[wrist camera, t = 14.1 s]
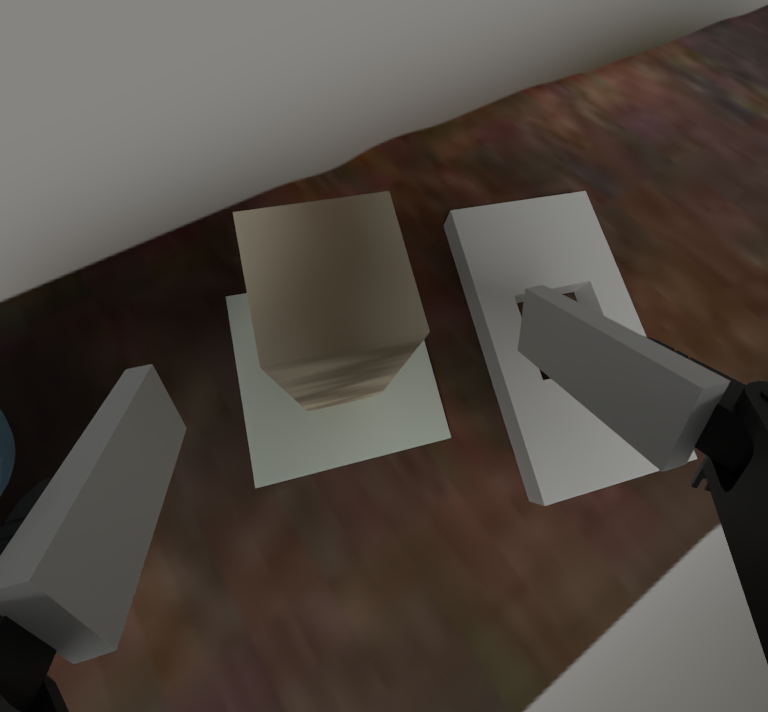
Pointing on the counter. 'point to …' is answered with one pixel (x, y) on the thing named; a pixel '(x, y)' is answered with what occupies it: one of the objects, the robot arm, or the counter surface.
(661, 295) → the counter surface
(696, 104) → the counter surface
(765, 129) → the counter surface
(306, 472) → the tile
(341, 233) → the peg
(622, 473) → the plate with hole
